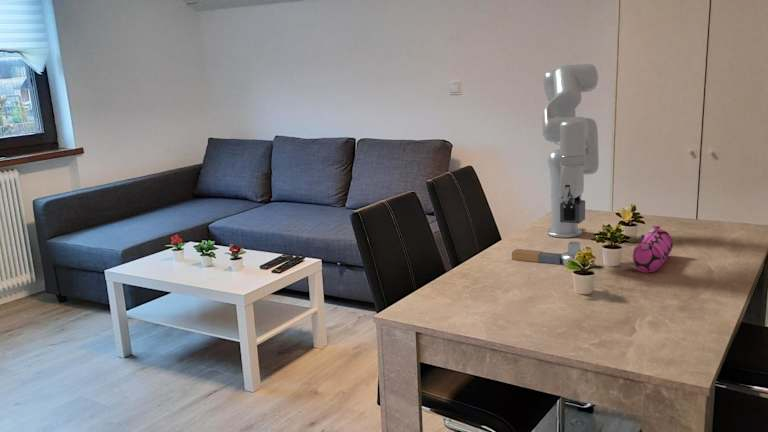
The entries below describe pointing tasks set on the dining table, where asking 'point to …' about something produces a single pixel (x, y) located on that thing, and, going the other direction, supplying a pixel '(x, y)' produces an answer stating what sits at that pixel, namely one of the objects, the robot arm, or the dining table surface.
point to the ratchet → (547, 255)
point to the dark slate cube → (579, 211)
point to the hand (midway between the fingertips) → (572, 217)
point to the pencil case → (652, 250)
